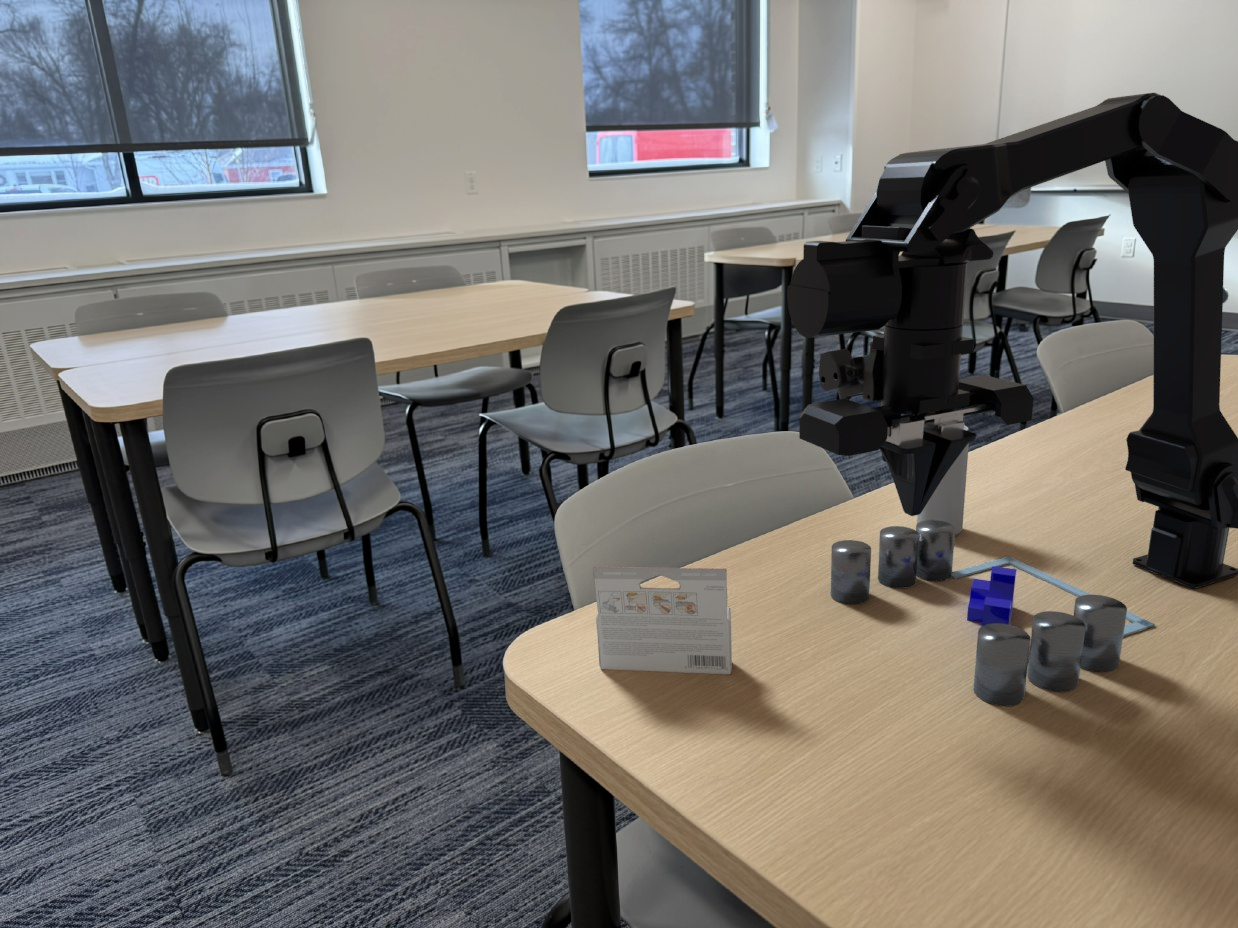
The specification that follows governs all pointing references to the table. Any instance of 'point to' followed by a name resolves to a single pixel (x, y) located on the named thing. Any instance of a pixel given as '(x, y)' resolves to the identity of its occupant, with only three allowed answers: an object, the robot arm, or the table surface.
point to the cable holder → (993, 597)
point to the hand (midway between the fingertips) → (911, 513)
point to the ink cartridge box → (663, 620)
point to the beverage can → (949, 495)
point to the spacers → (999, 646)
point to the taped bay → (1128, 629)
